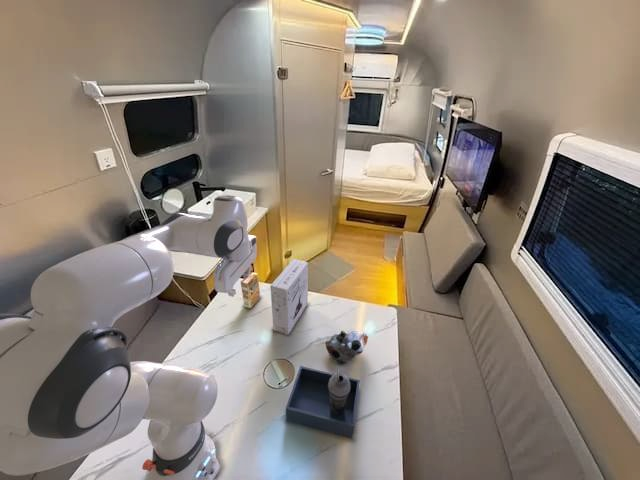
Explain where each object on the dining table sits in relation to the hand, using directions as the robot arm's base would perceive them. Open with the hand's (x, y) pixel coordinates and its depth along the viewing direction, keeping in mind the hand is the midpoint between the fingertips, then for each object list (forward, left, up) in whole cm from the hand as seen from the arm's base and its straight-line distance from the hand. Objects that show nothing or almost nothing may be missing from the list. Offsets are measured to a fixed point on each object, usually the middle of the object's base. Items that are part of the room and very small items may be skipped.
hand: (239, 285), depth 87 cm
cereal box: (+29, -7, -39) cm, 49 cm away
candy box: (+33, +15, -39) cm, 53 cm away
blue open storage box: (-8, -31, -39) cm, 50 cm away
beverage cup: (-8, -35, -38) cm, 53 cm away
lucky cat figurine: (+16, -35, -39) cm, 55 cm away
